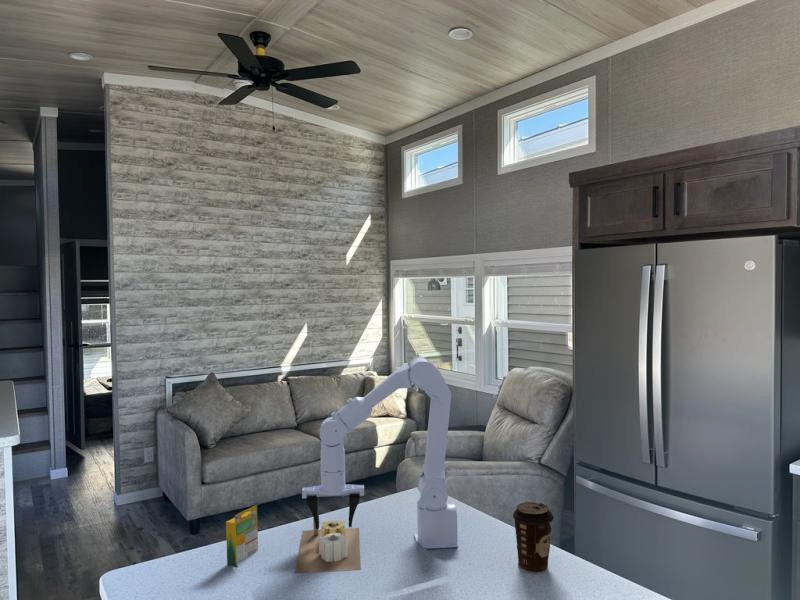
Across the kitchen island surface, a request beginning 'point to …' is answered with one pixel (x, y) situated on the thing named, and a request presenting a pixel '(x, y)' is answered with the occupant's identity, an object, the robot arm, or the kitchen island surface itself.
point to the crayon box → (242, 536)
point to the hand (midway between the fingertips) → (333, 526)
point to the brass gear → (333, 528)
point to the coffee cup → (533, 536)
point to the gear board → (312, 559)
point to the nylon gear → (333, 547)
